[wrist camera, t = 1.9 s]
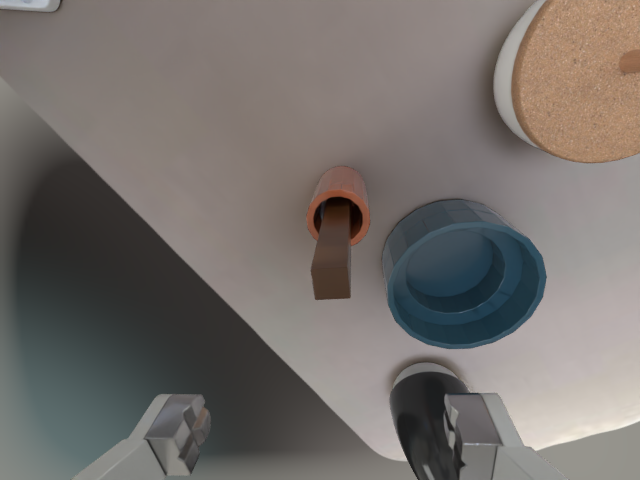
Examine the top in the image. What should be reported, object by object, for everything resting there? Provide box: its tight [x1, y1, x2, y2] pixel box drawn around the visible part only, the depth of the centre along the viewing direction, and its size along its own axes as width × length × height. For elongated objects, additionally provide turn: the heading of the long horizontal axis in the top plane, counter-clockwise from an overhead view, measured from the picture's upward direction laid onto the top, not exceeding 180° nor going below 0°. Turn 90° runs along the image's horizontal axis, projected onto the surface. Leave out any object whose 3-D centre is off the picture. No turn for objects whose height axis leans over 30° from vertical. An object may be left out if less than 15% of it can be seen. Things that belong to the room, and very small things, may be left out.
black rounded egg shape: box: [390, 362, 470, 480], centre depth 37 cm, size 10×10×15 cm
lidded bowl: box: [493, 0, 640, 163], centre depth 23 cm, size 13×13×11 cm
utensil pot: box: [306, 166, 370, 246], centre depth 30 cm, size 5×5×9 cm
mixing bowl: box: [382, 199, 547, 349], centre depth 33 cm, size 14×14×7 cm
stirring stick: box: [311, 196, 351, 300], centre depth 25 cm, size 2×2×18 cm
